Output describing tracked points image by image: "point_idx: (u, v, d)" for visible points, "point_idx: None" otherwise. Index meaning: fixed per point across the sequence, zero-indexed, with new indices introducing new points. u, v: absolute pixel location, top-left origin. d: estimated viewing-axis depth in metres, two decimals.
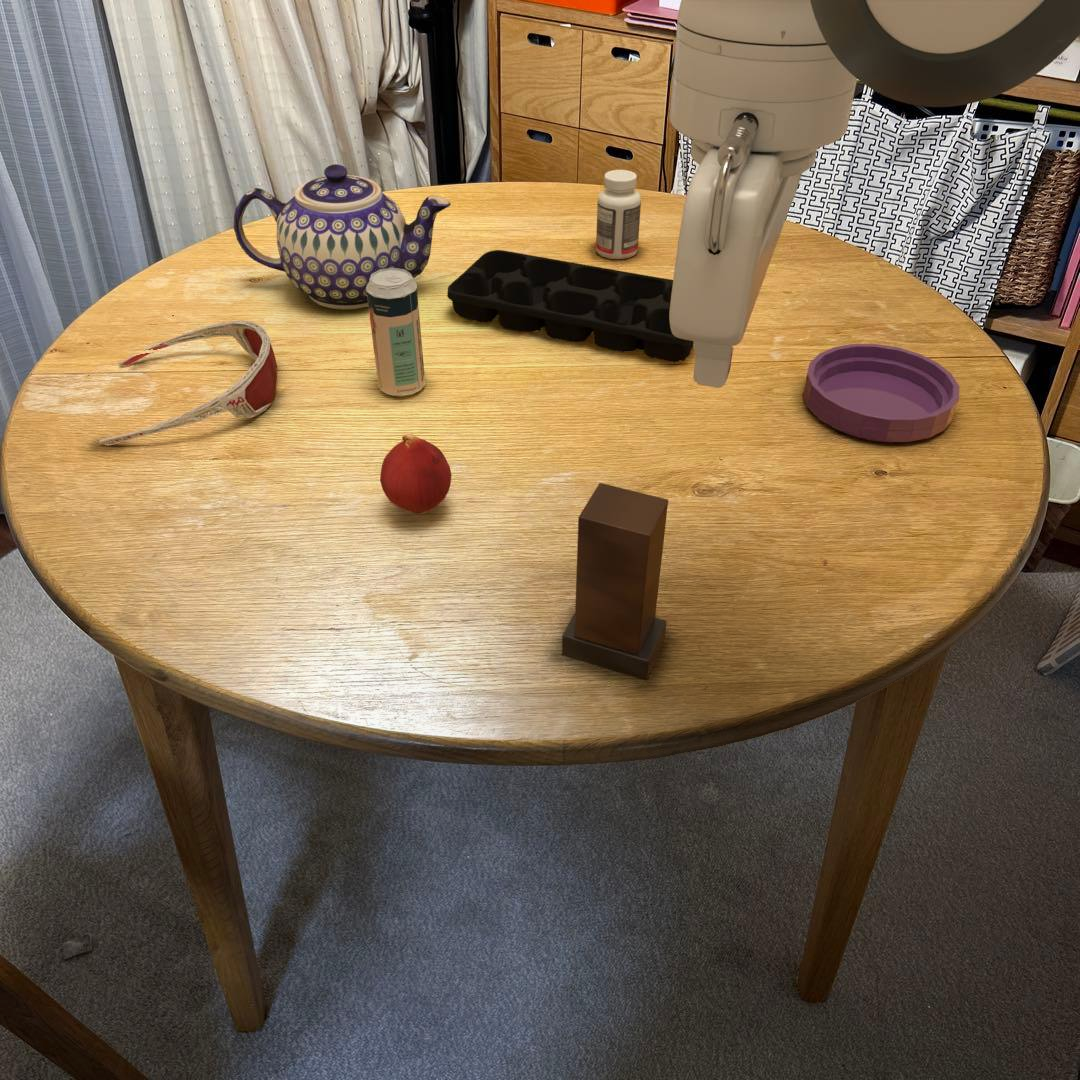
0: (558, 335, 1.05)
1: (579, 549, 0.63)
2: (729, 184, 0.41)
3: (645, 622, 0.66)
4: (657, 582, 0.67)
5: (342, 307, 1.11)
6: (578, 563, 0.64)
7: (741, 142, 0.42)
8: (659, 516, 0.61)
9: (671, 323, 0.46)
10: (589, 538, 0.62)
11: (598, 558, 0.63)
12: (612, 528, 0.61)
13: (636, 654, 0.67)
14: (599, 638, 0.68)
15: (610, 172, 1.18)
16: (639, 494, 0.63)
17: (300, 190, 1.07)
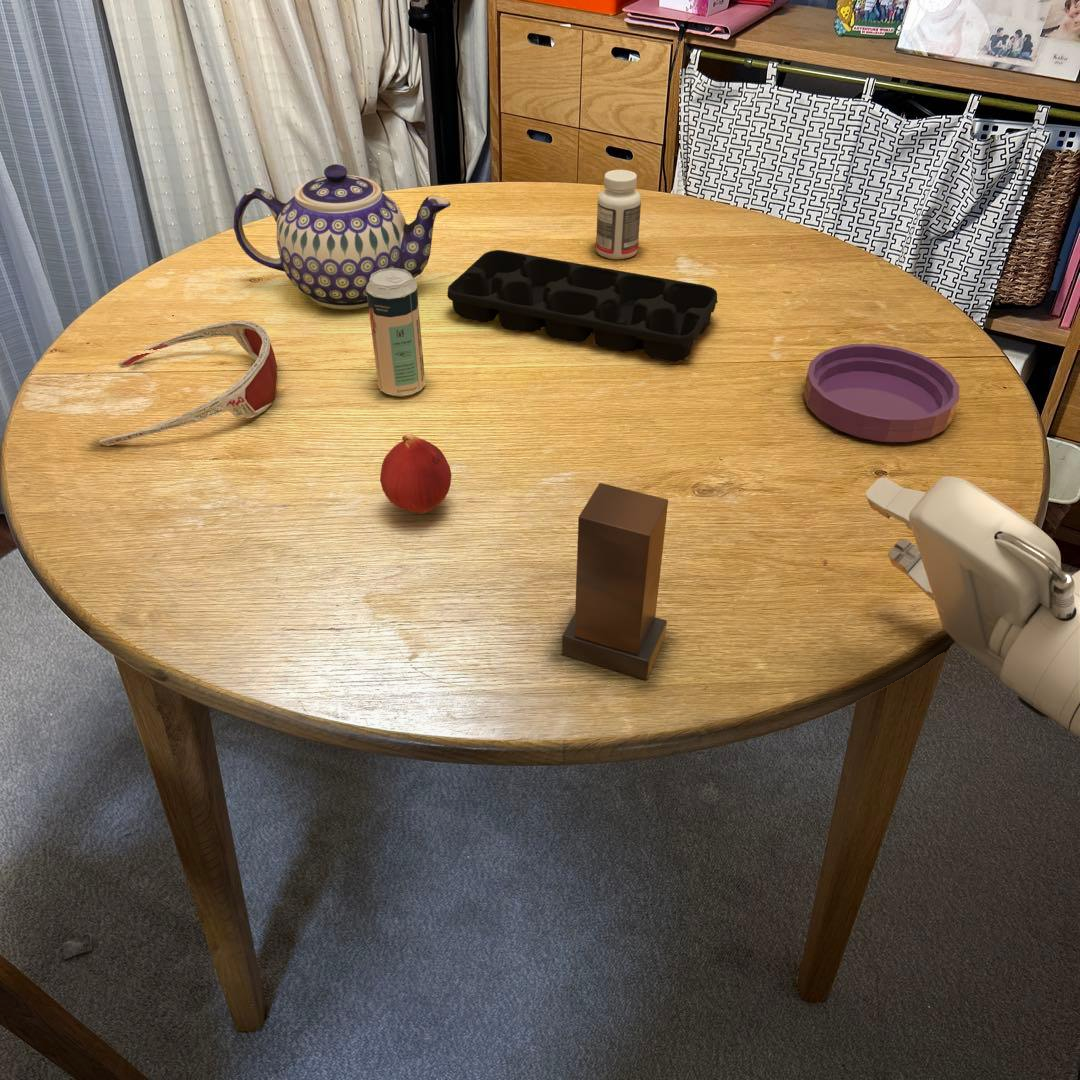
0: (558, 335, 1.05)
1: (579, 549, 0.63)
2: (1046, 569, 0.50)
3: (645, 622, 0.66)
4: (657, 582, 0.67)
5: (342, 307, 1.11)
6: (578, 563, 0.64)
7: (1066, 596, 0.51)
8: (659, 516, 0.61)
9: (958, 478, 0.54)
10: (589, 538, 0.62)
11: (598, 558, 0.63)
12: (612, 528, 0.61)
13: (636, 654, 0.67)
14: (599, 638, 0.68)
15: (610, 172, 1.18)
16: (639, 494, 0.63)
17: (300, 190, 1.07)
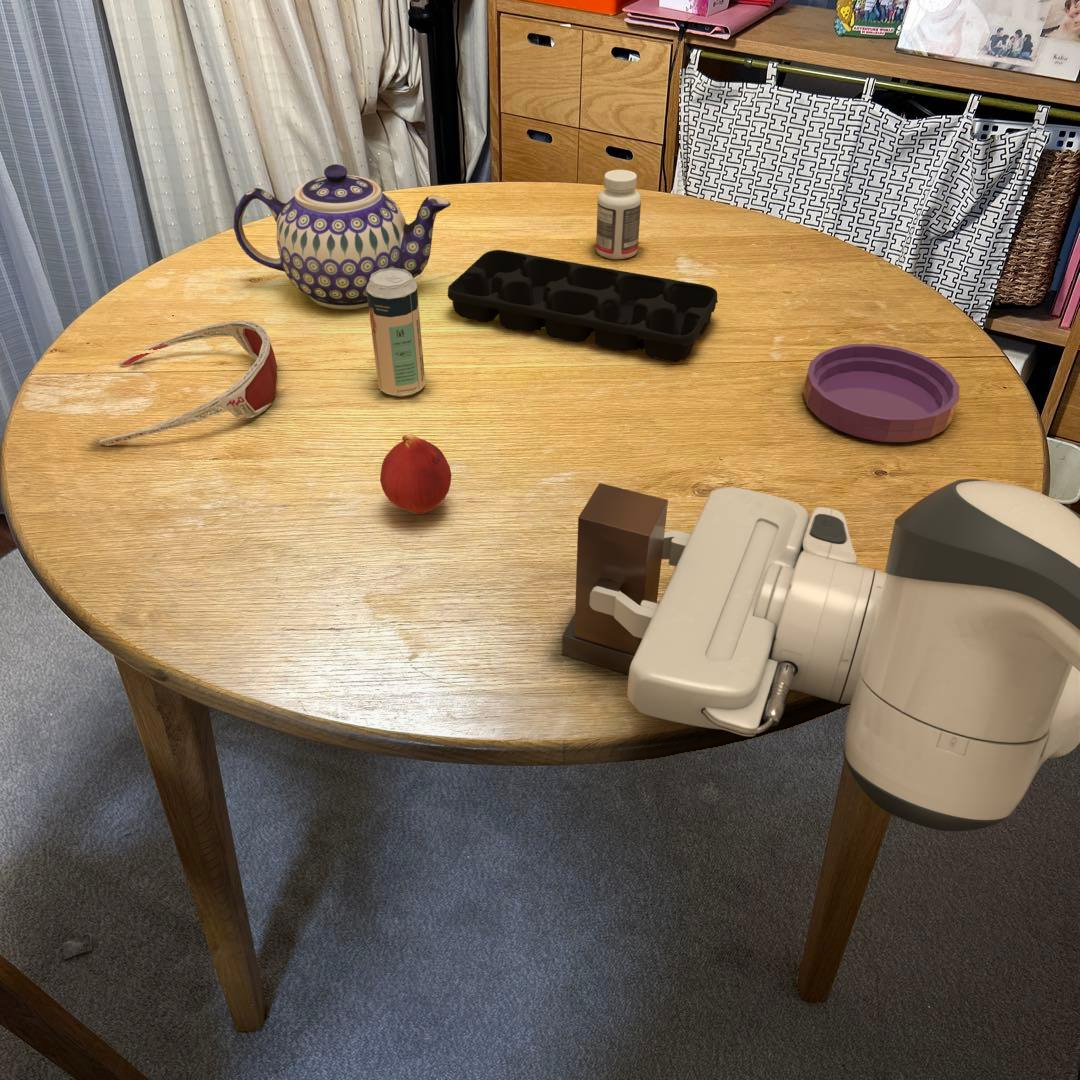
0: (558, 335, 1.05)
1: (579, 549, 0.63)
2: (754, 735, 0.55)
3: None
4: (657, 582, 0.67)
5: (342, 307, 1.11)
6: (578, 563, 0.64)
7: None
8: (659, 516, 0.61)
9: (643, 676, 0.56)
10: (588, 539, 0.62)
11: (598, 559, 0.63)
12: (612, 529, 0.61)
13: None
14: (599, 638, 0.67)
15: (610, 172, 1.18)
16: (638, 495, 0.63)
17: (300, 190, 1.07)
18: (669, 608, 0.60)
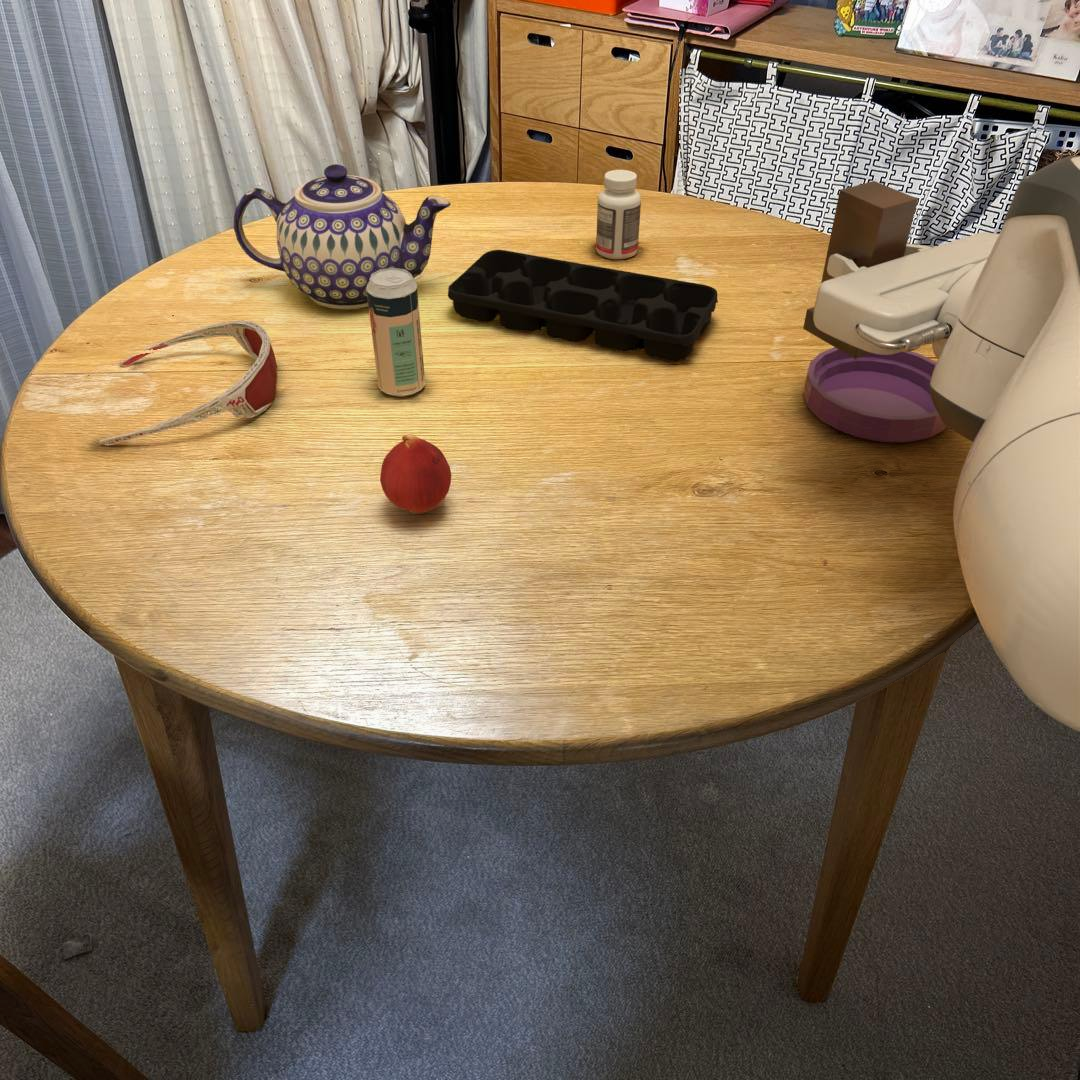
0: (559, 335, 1.05)
1: (834, 222, 0.81)
2: (885, 350, 0.70)
3: None
4: None
5: (342, 307, 1.11)
6: (831, 236, 0.81)
7: None
8: (901, 204, 0.77)
9: (823, 289, 0.74)
10: (842, 211, 0.80)
11: (845, 232, 0.80)
12: (859, 201, 0.78)
13: None
14: None
15: (610, 172, 1.18)
16: (897, 192, 0.79)
17: (300, 190, 1.07)
18: (876, 268, 0.76)
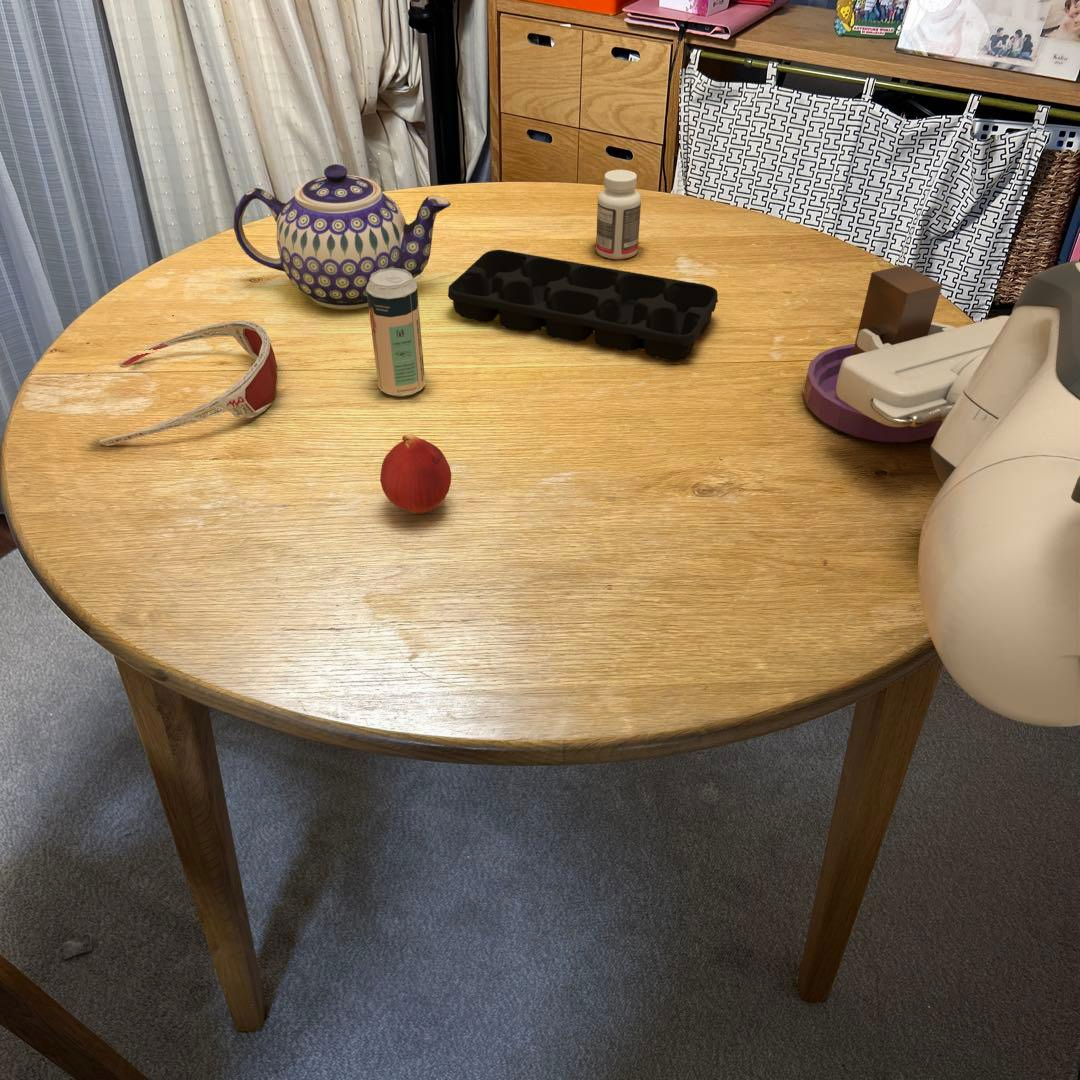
0: (559, 334, 1.05)
1: (866, 300, 0.89)
2: (893, 424, 0.79)
3: None
4: None
5: (342, 307, 1.11)
6: (863, 312, 0.90)
7: None
8: (926, 289, 0.85)
9: (845, 365, 0.83)
10: (873, 291, 0.88)
11: (875, 310, 0.89)
12: (888, 285, 0.86)
13: None
14: None
15: (610, 172, 1.18)
16: (924, 277, 0.87)
17: (300, 190, 1.07)
18: (897, 347, 0.84)
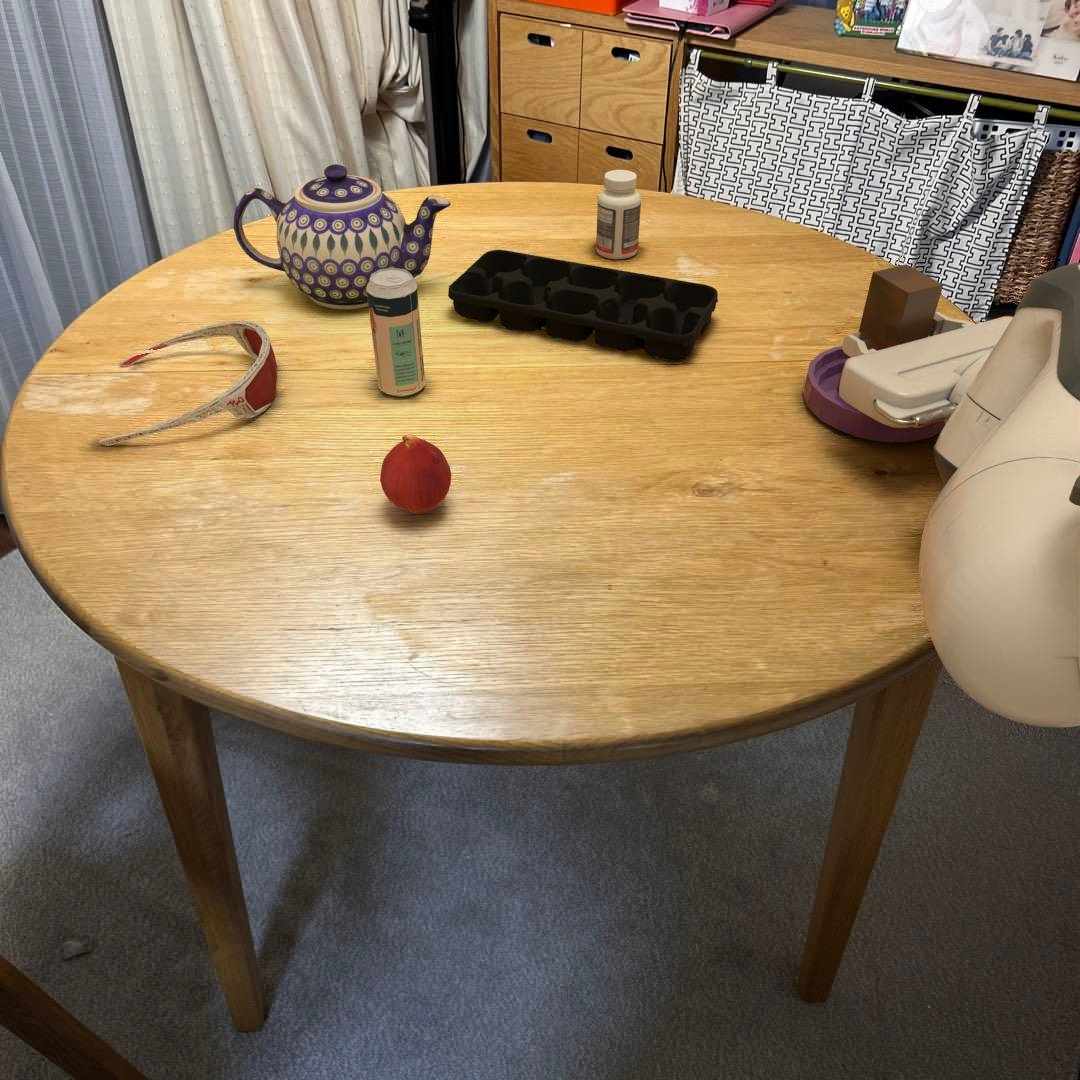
0: (559, 334, 1.05)
1: (867, 299, 0.89)
2: (896, 425, 0.79)
3: None
4: None
5: (342, 307, 1.11)
6: (864, 312, 0.90)
7: None
8: (927, 289, 0.85)
9: (848, 366, 0.83)
10: (874, 291, 0.88)
11: (876, 309, 0.89)
12: (889, 284, 0.86)
13: None
14: None
15: (610, 172, 1.18)
16: (925, 276, 0.87)
17: (300, 190, 1.07)
18: (900, 348, 0.85)
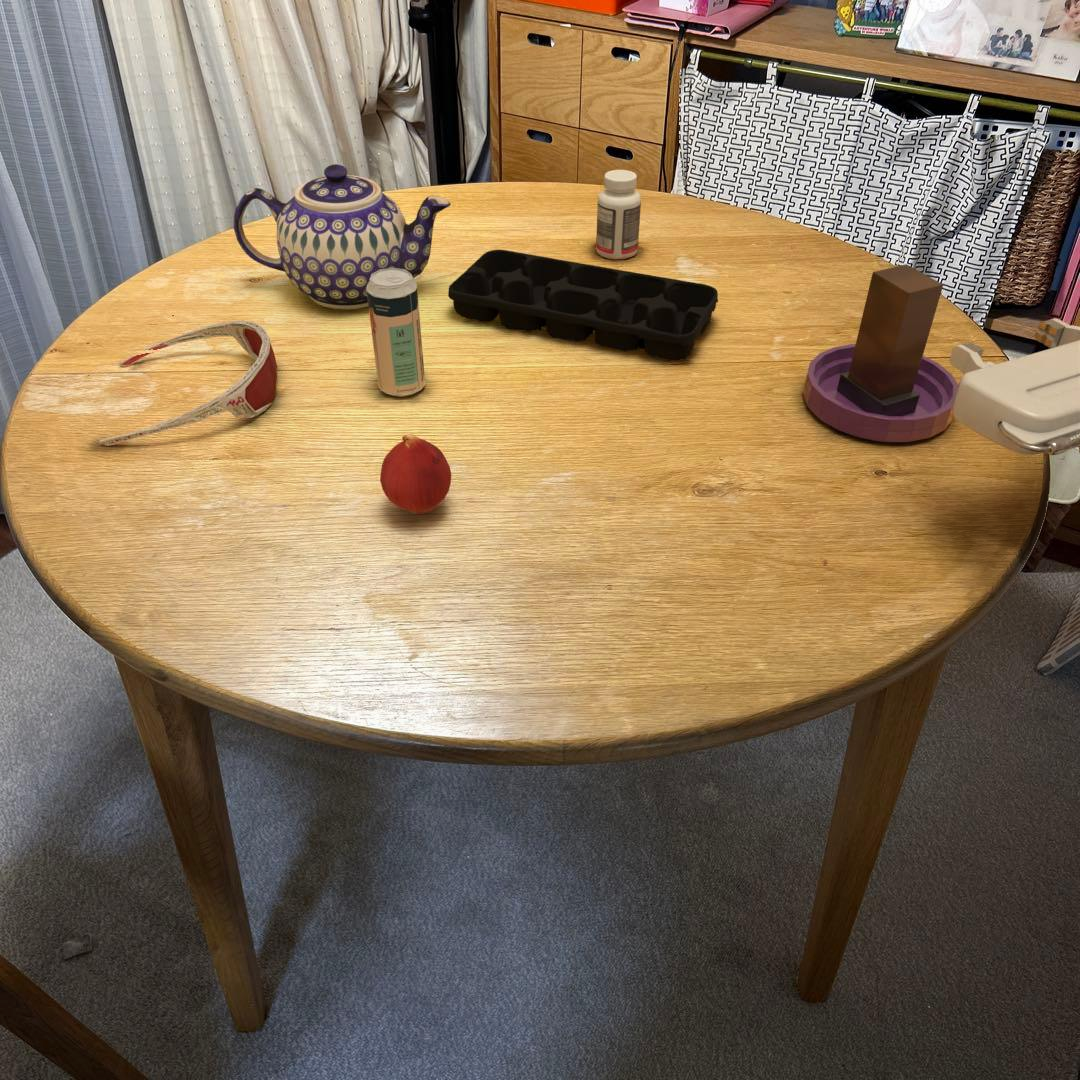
0: (559, 334, 1.05)
1: (867, 299, 0.89)
2: (1028, 451, 0.68)
3: (895, 377, 0.90)
4: (919, 354, 0.90)
5: (342, 307, 1.11)
6: (864, 312, 0.90)
7: (1062, 452, 0.68)
8: (927, 289, 0.85)
9: (966, 382, 0.71)
10: (874, 291, 0.88)
11: (876, 309, 0.89)
12: (889, 284, 0.86)
13: (879, 398, 0.92)
14: (861, 380, 0.93)
15: (610, 172, 1.18)
16: (925, 276, 0.87)
17: (300, 190, 1.07)
18: (1023, 360, 0.73)
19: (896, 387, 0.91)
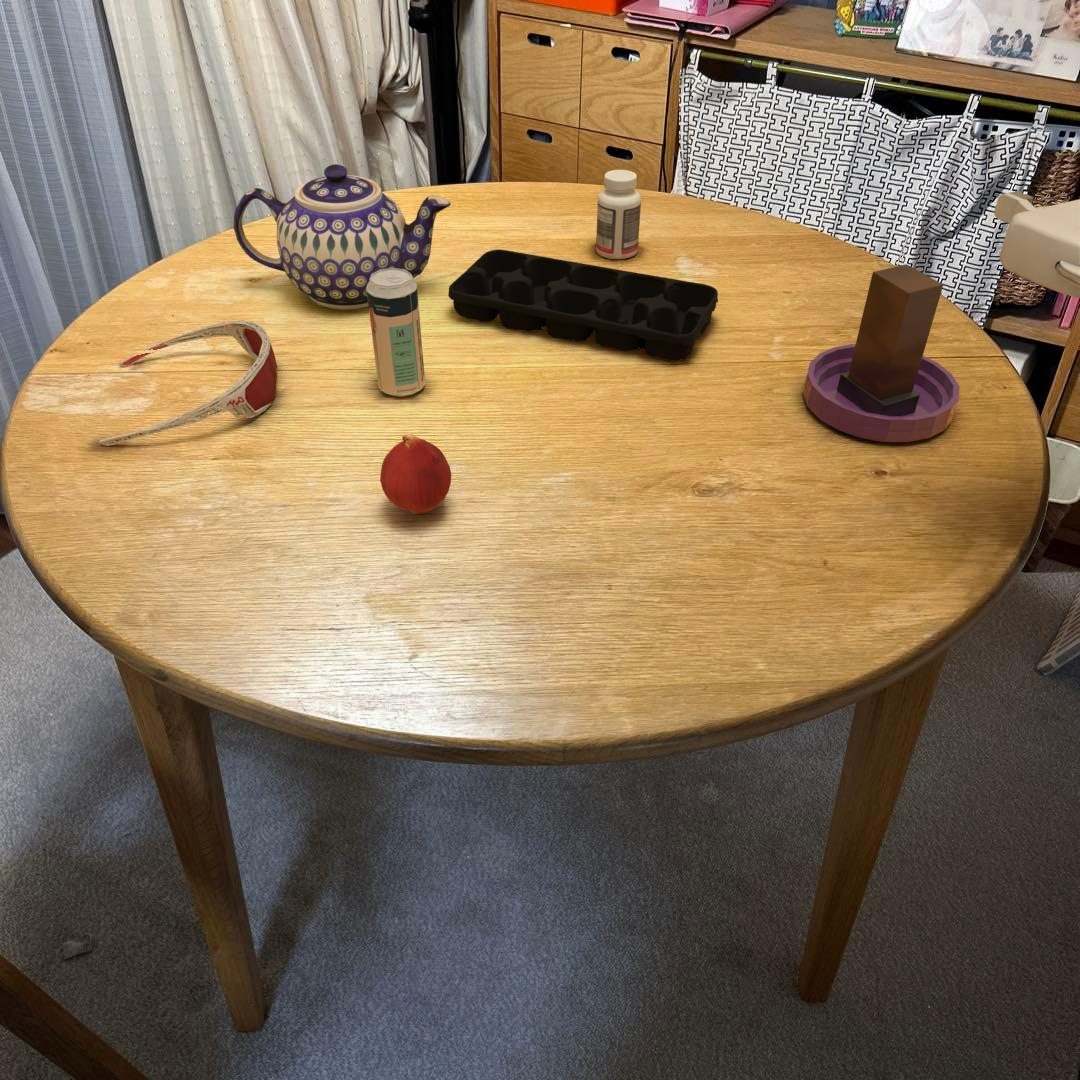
0: (559, 334, 1.05)
1: (867, 299, 0.89)
2: None
3: (895, 377, 0.90)
4: (919, 354, 0.90)
5: (342, 307, 1.11)
6: (864, 312, 0.90)
7: None
8: (927, 289, 0.85)
9: (1018, 221, 0.63)
10: (874, 291, 0.88)
11: (876, 309, 0.89)
12: (889, 284, 0.86)
13: (879, 398, 0.92)
14: (861, 380, 0.93)
15: (610, 172, 1.18)
16: (925, 276, 0.87)
17: (300, 190, 1.07)
18: None
19: (896, 387, 0.91)
